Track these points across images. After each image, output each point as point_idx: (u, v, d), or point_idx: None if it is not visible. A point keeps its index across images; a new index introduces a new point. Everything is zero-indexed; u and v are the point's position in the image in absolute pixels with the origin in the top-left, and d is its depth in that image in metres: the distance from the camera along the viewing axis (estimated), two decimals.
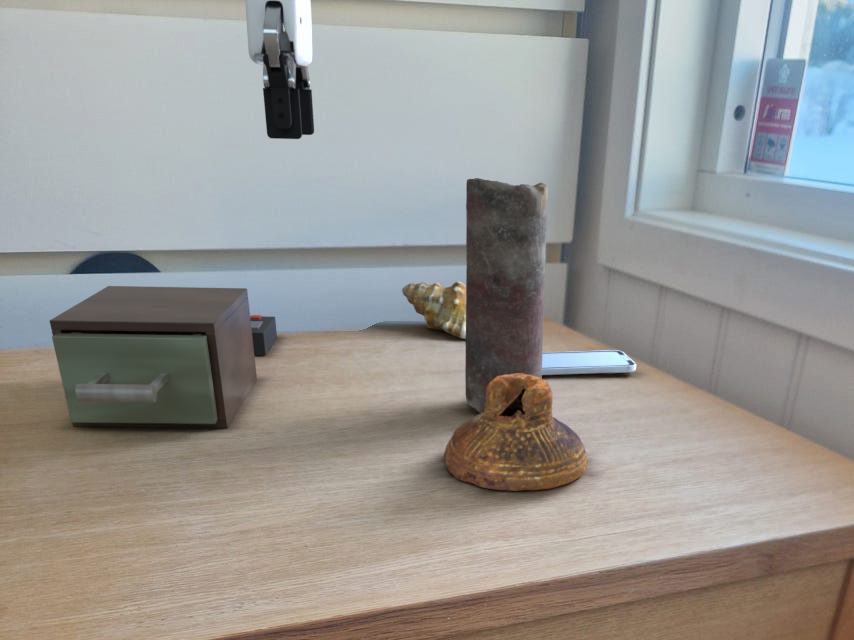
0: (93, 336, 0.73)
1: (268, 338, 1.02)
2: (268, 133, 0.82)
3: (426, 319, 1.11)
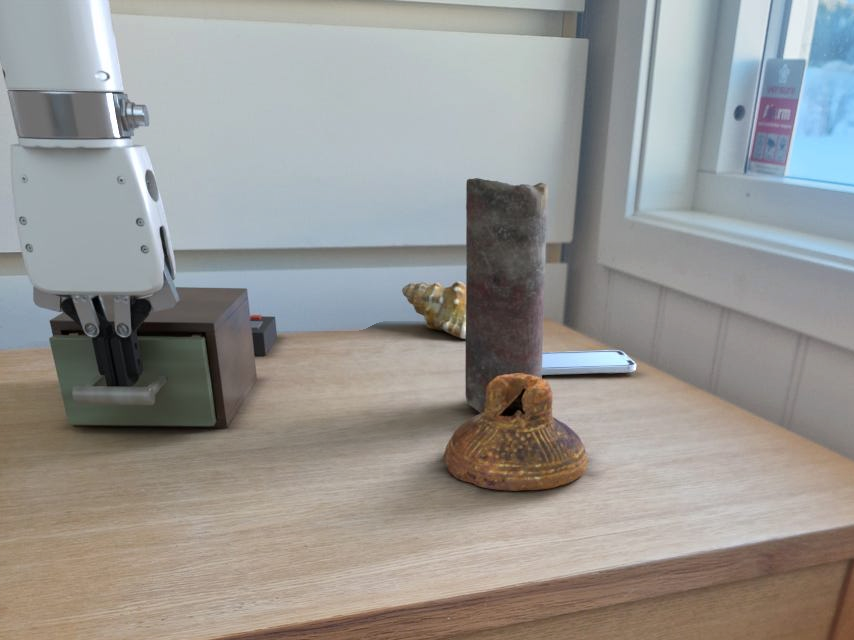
0: (90, 338, 0.72)
1: (268, 338, 1.02)
2: None
3: (426, 319, 1.11)
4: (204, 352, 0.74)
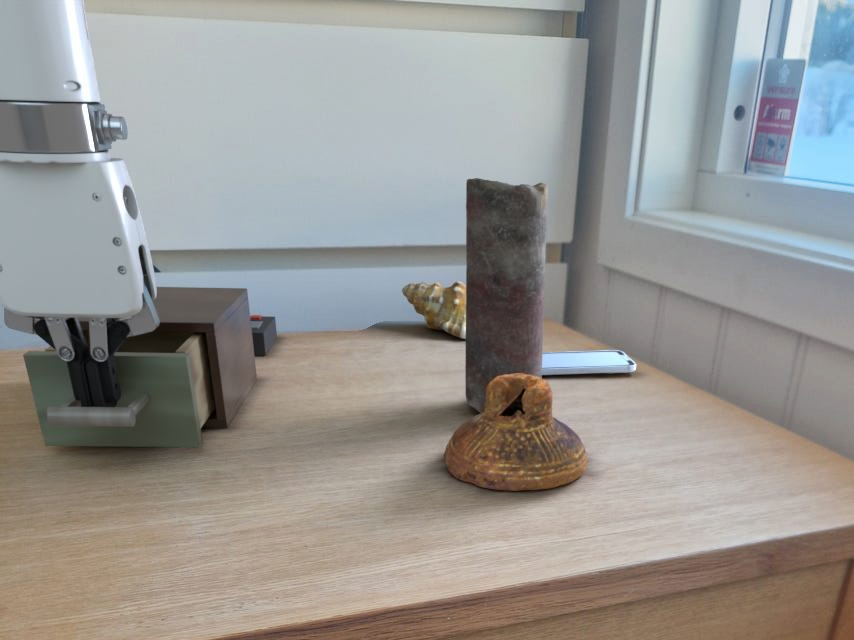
0: None
1: (268, 338, 1.02)
2: None
3: (426, 319, 1.11)
4: (189, 369, 0.69)
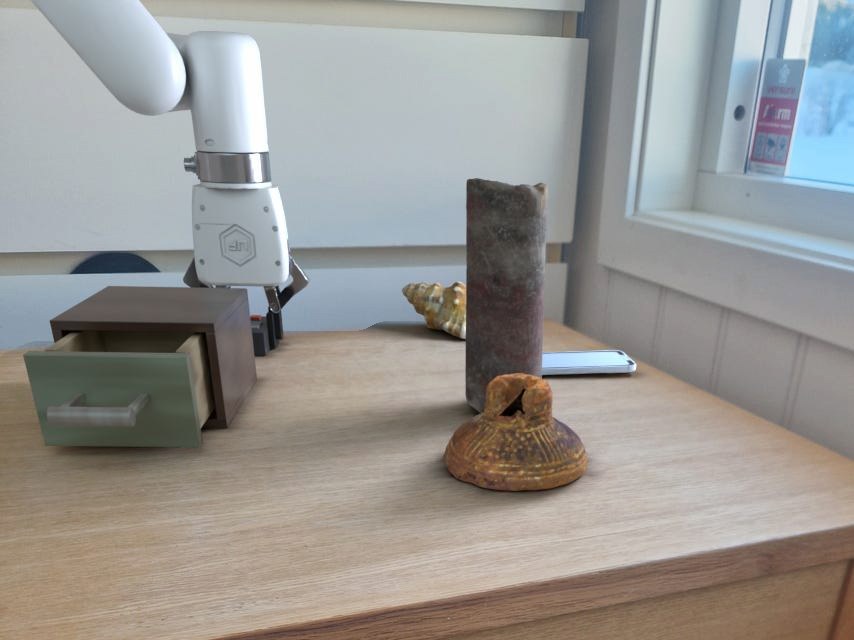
0: (67, 354, 0.68)
1: (268, 338, 1.02)
2: (275, 345, 1.03)
3: (426, 319, 1.11)
4: (189, 369, 0.69)
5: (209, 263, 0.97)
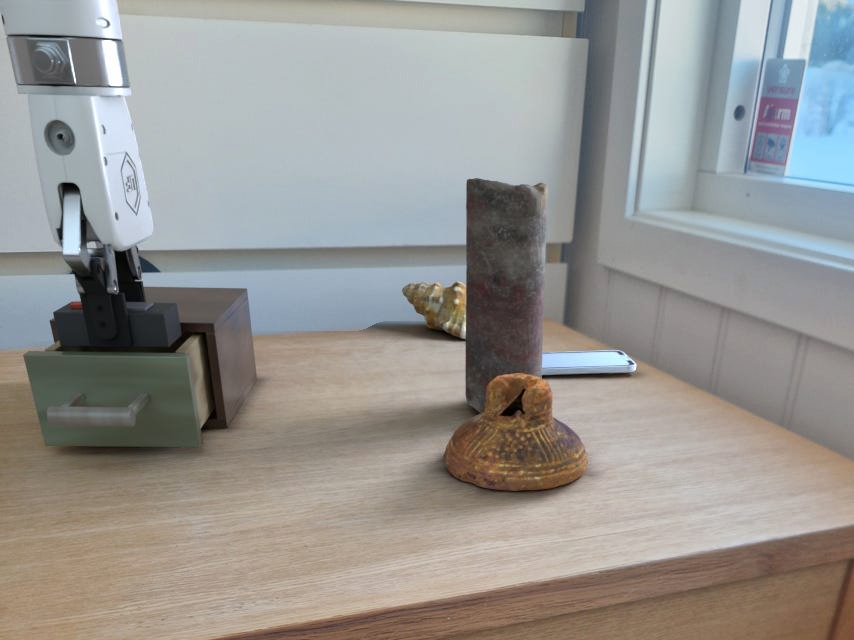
0: (67, 354, 0.68)
1: None
2: None
3: (426, 319, 1.11)
4: (189, 369, 0.69)
5: (121, 217, 0.64)
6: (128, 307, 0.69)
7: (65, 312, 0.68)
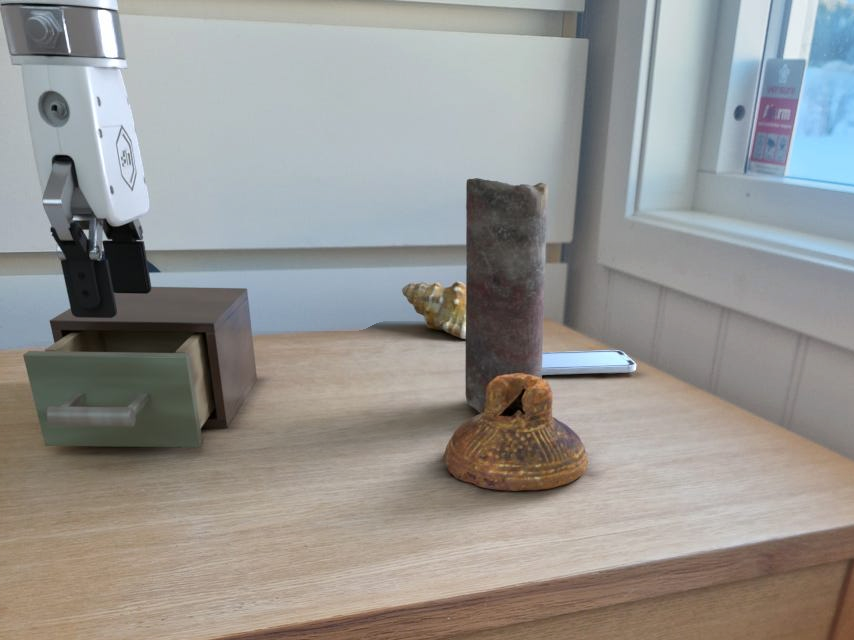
0: (67, 354, 0.68)
1: None
2: None
3: (426, 319, 1.11)
4: (189, 369, 0.69)
5: (116, 191, 0.63)
6: None
7: None
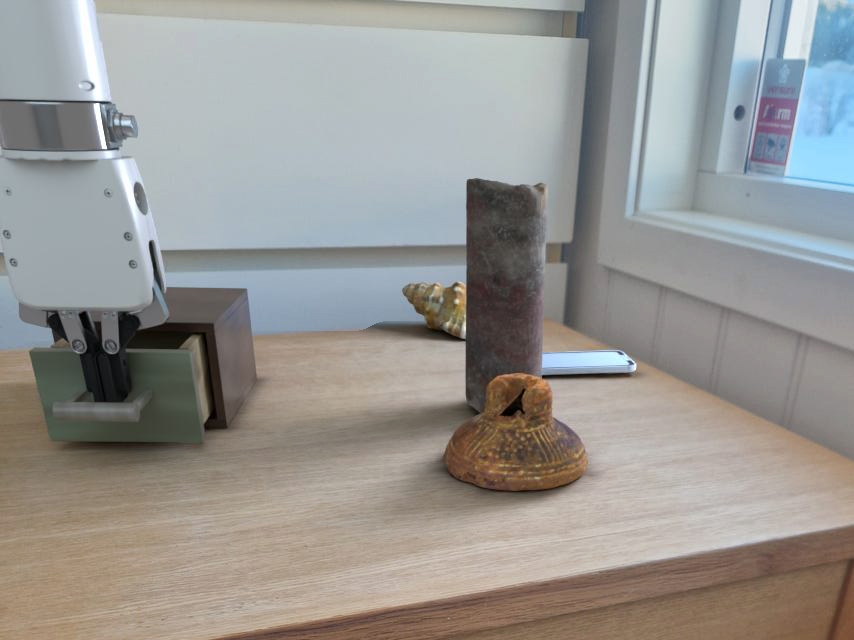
0: (73, 351, 0.69)
1: None
2: None
3: (426, 319, 1.11)
4: (192, 365, 0.70)
5: None
6: None
7: None
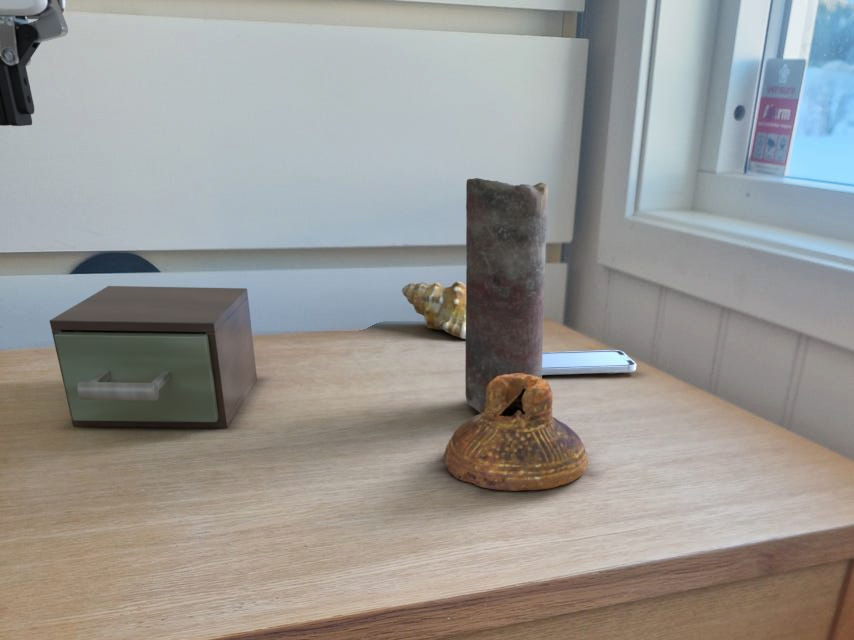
0: (95, 335, 0.73)
1: None
2: None
3: (426, 319, 1.11)
4: (207, 349, 0.75)
5: None
6: None
7: None
